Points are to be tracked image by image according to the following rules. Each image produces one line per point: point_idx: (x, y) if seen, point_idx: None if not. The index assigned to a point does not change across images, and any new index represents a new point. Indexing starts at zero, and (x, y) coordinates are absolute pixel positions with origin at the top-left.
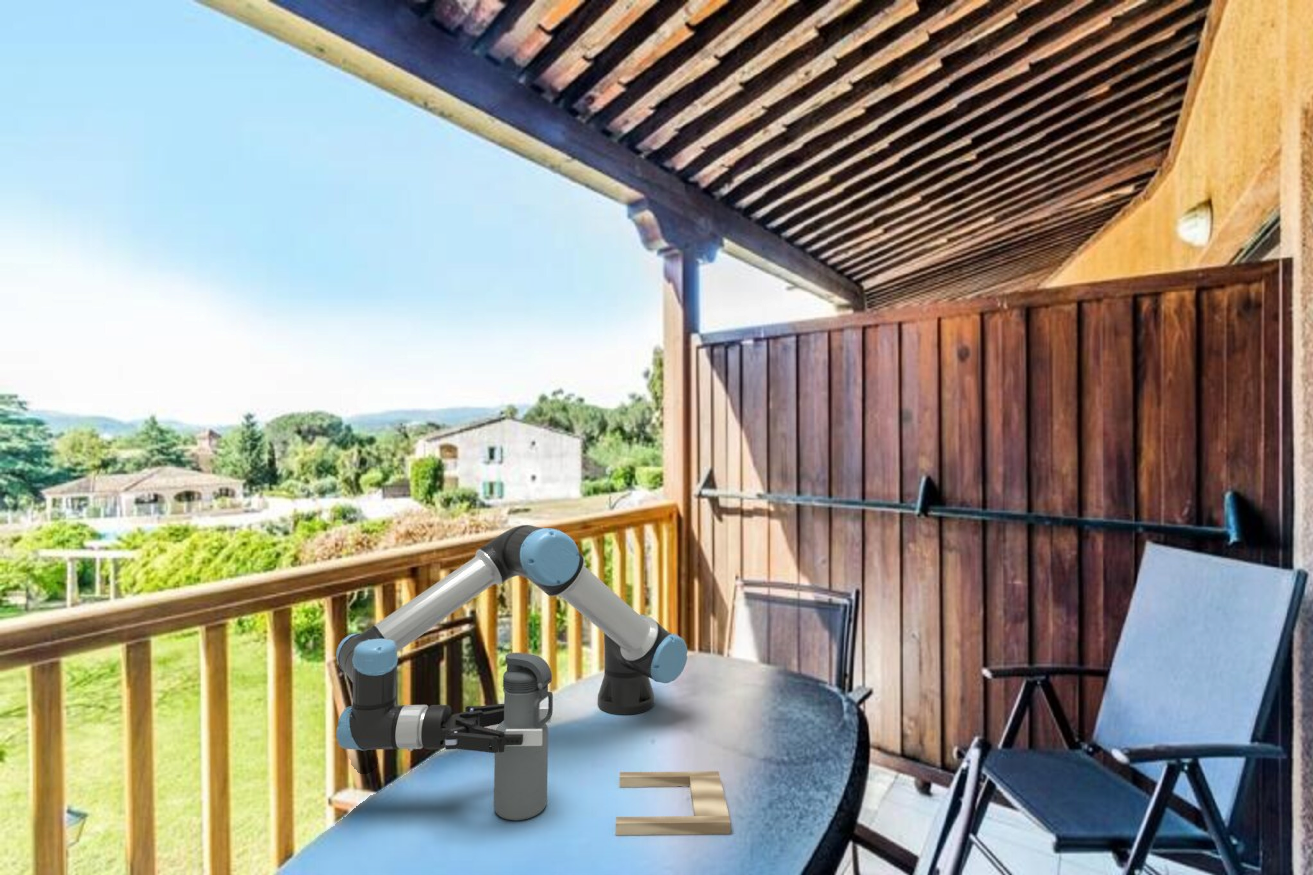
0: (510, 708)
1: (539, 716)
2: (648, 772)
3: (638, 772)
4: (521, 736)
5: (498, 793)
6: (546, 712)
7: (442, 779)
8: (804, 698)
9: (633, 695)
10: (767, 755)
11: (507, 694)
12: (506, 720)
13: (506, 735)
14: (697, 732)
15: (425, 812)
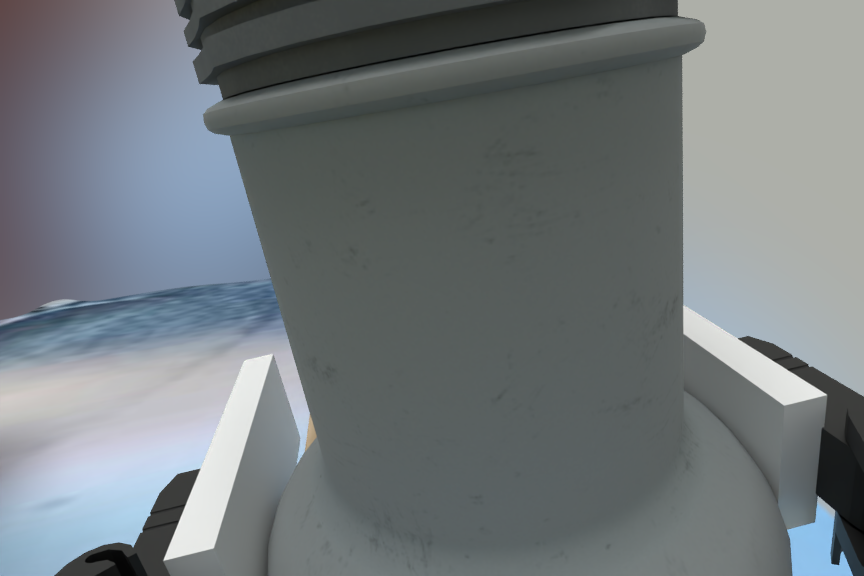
0: (681, 236)
1: (279, 447)
2: (311, 425)
3: (309, 443)
4: (747, 339)
5: None
6: (276, 392)
7: None
8: (23, 336)
9: None
10: (235, 332)
11: (676, 65)
12: (672, 420)
13: (834, 412)
14: (65, 429)
15: None
